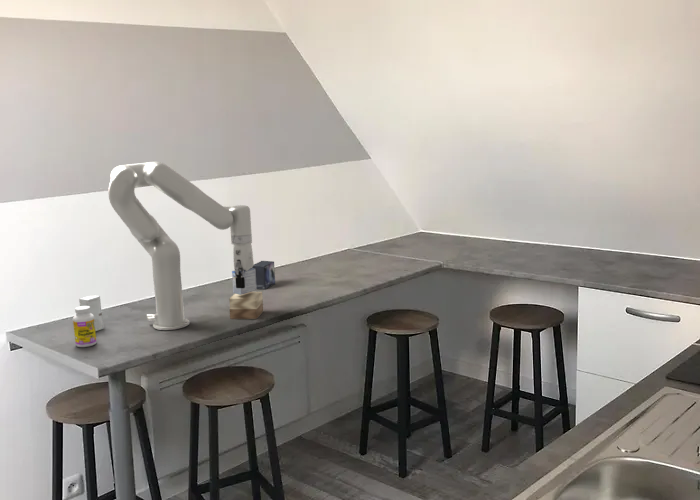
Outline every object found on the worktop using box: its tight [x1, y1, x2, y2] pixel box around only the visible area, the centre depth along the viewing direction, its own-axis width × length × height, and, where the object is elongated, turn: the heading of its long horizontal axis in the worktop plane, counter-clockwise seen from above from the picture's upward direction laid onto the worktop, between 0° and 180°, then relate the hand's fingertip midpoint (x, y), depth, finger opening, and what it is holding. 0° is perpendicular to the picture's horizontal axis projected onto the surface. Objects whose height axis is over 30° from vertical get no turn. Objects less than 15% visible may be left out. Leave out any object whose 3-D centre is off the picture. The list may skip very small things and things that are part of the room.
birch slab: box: [228, 291, 264, 310], centre depth 266 cm, size 10×10×4 cm
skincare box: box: [78, 295, 104, 332], centre depth 253 cm, size 6×4×12 cm
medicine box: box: [231, 268, 257, 295], centre depth 264 cm, size 8×4×9 cm, turn 141°
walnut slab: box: [229, 301, 264, 320], centre depth 266 cm, size 10×10×4 cm
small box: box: [252, 260, 276, 290], centre depth 309 cm, size 11×6×10 cm, turn 161°
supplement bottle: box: [72, 305, 97, 348], centre depth 237 cm, size 7×7×13 cm
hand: (244, 284), depth 264 cm, fingers closed on medicine box, 9 cm apart
